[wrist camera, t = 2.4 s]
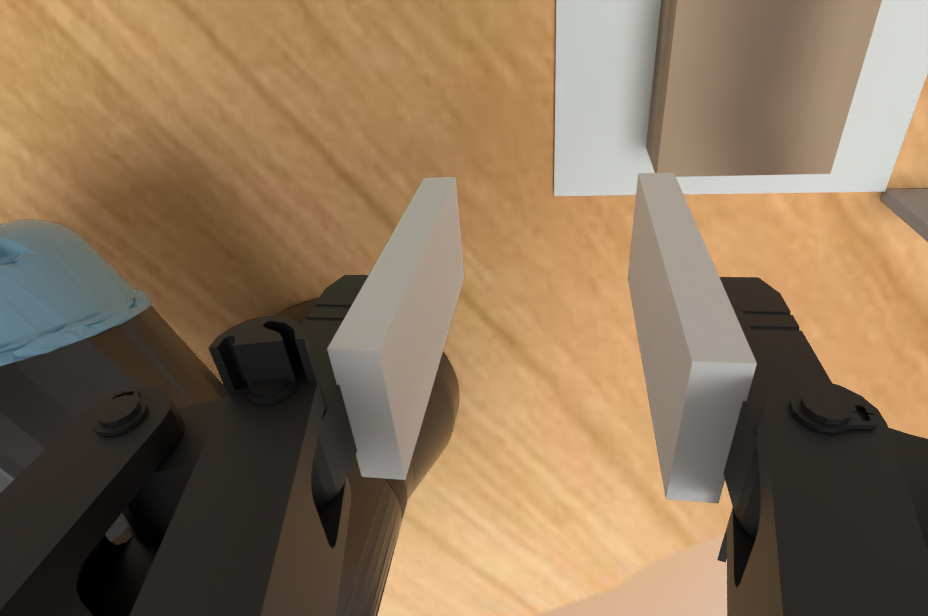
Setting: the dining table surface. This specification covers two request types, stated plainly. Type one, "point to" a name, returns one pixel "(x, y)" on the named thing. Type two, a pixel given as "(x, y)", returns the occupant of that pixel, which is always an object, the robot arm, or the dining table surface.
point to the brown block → (755, 84)
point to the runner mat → (630, 87)
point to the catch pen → (909, 207)
